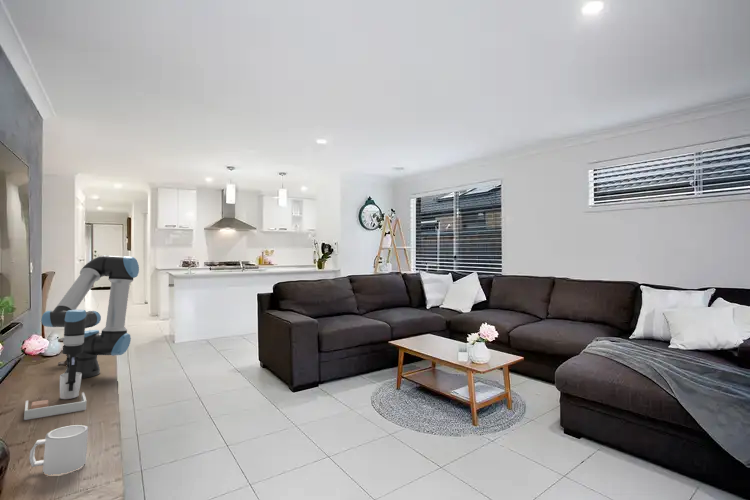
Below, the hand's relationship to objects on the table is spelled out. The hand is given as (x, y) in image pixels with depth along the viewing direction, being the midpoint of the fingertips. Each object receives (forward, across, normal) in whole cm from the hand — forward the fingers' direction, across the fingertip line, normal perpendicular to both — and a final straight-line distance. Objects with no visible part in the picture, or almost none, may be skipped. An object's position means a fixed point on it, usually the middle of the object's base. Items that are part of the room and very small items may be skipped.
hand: (69, 395), depth 175 cm
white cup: (+1, 0, 0) cm, 1 cm away
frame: (+1, +15, -5) cm, 16 cm away
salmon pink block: (+1, +15, -10) cm, 18 cm away
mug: (+1, +72, -5) cm, 72 cm away
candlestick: (+1, -67, +2) cm, 67 cm away
